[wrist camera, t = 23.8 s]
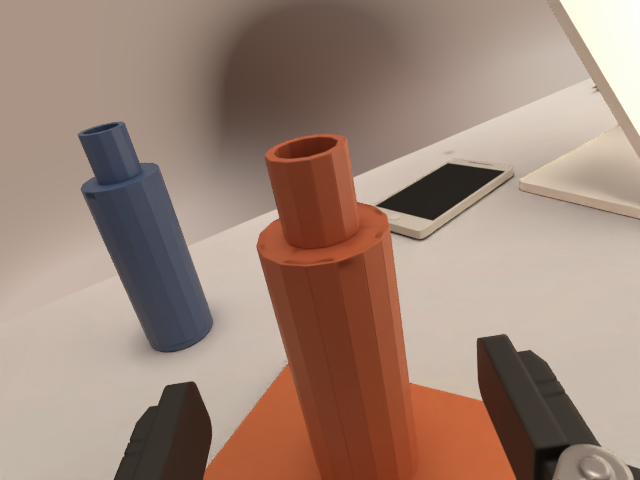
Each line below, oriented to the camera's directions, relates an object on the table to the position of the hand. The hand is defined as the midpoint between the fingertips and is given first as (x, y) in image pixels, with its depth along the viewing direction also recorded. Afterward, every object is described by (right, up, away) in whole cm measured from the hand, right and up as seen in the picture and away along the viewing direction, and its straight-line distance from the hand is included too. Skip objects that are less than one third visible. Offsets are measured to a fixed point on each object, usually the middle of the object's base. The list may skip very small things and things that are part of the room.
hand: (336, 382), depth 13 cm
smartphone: (+11, +8, +33) cm, 35 cm away
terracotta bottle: (+2, -6, +9) cm, 11 cm away
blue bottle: (-11, -3, +21) cm, 24 cm away
